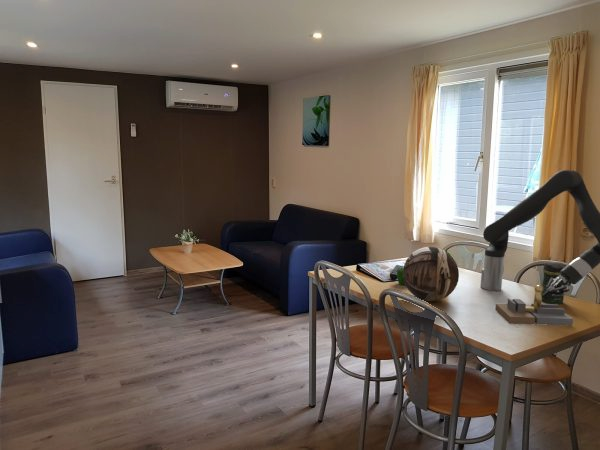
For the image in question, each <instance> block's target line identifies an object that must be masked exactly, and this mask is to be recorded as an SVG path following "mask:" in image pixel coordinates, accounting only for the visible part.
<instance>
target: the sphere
mask: <svg viewBox="0 0 600 450" xmlns="http://www.w3.org/2000/svg"><path fill="white" fill-rule="evenodd" d="M403 264H404V265H403V267H402V268H403V279H404V283H405V287H406V289H407V290H408V292H410V293H411V294H412V295H413V296H414V297H416V298H418V299H419V298H420V300H422V301H427V302H437V301H438V302H439V301H441V300H443V299H445V298H448V297H449V296H450V295H451V294H452V293H453V292H454V290H455V289H457V285H458V282H459V279H460V277H459V276H460V273H459V272H460V271H459V267H458V264H457V262H456V260H455V259H454V258H453V256H452V255H451V254H450V253H449V252H447V251H446V250H444V249H442V248H439V247H434V246H425V247H422V248H418V249H417V250H414V251H413V252H412V253H411V254H410V255H409V256H408V257H407V259H406V260H405V262H404V263H403Z"/></svg>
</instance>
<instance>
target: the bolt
mask: <svg viewBox="0 0 600 450" xmlns="http://www.w3.org/2000/svg"><path fill="white" fill-rule="evenodd" d="M543 290H544V288H543V287H542V284H541V285H540V284H538V285H535V287H534V296H533V297H534V299H533V304H534V306H526V308H525V311H529V312H536V309H537V308H542V307H541V304H542V302H543V301H542V293H543Z"/></svg>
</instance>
